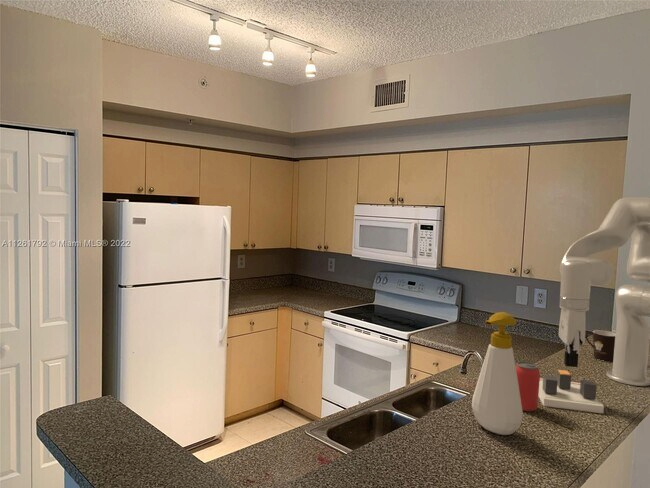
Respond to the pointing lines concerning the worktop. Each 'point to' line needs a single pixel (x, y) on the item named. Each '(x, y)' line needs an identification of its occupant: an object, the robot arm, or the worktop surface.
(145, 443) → the worktop surface
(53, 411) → the worktop surface
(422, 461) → the worktop surface
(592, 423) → the worktop surface
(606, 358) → the coffee mug
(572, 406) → the breaker panel
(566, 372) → the block
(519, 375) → the beer can
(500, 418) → the soap bottle
